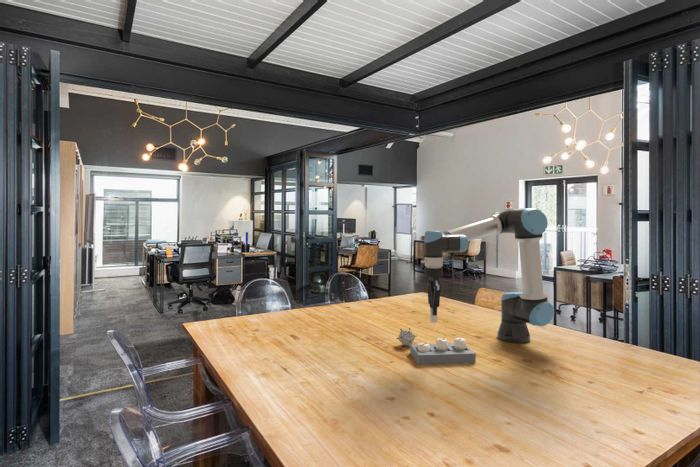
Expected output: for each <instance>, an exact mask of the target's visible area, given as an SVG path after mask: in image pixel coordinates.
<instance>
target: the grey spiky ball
mask: <svg viewBox="0 0 700 467" xmlns="http://www.w3.org/2000/svg"><path fill="white" fill-rule="evenodd" d="M417 336H418V335H415V334H414V333H413V332H412V331H411V328H410V327H409V328H408V329H407V328H406V329H402V328H400V332H399V334H398V337H396V340H398V341H399V342H400V343H401V345H402V348H404V346H410V345H413V343H414V340H415V338H417Z"/></svg>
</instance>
